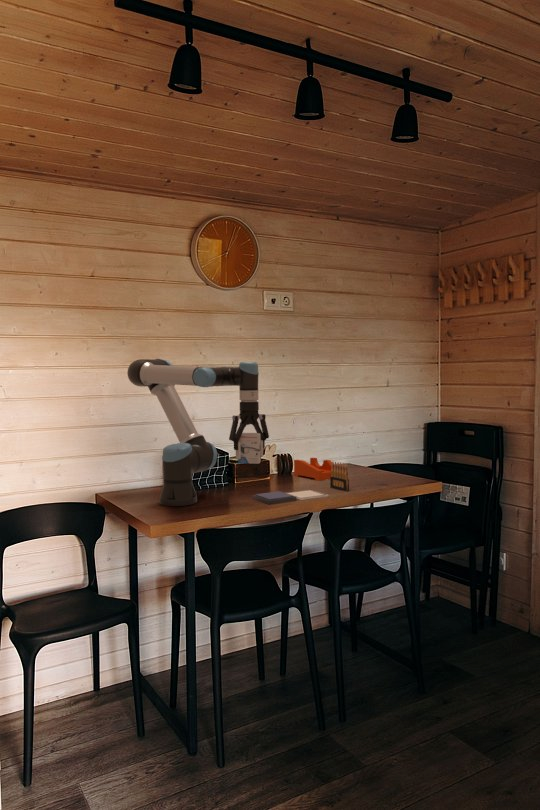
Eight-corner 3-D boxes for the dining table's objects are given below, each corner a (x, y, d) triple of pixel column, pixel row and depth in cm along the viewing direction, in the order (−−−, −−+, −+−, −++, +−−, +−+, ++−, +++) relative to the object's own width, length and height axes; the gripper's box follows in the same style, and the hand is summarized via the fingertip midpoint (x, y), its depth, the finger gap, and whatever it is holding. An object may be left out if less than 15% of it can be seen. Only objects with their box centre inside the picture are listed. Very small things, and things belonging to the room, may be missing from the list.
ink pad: (268, 504, 250) (268, 499, 250) (252, 498, 261) (252, 494, 261) (296, 500, 256) (296, 496, 256) (279, 495, 268) (279, 490, 268)
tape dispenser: (294, 476, 314) (294, 460, 314) (313, 473, 322) (313, 457, 321) (318, 481, 300) (318, 464, 299) (338, 478, 307) (338, 461, 307)
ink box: (237, 463, 250) (237, 434, 250) (239, 461, 255) (239, 432, 255) (259, 463, 250) (259, 434, 249) (260, 461, 255) (260, 432, 254)
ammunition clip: (330, 487, 283) (329, 461, 282) (333, 487, 284) (333, 460, 283) (346, 491, 274) (345, 463, 273) (349, 490, 275) (349, 463, 274)
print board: (300, 500, 257) (300, 498, 257) (282, 494, 269) (282, 492, 269) (328, 496, 264) (328, 494, 264) (309, 490, 276) (309, 489, 276)
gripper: (228, 402, 242) (228, 460, 244) (277, 400, 253) (278, 456, 255) (219, 401, 249) (220, 458, 250) (268, 399, 260) (268, 454, 261)
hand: (249, 457), depth 252 cm, fingers closed on ink box, 9 cm apart
